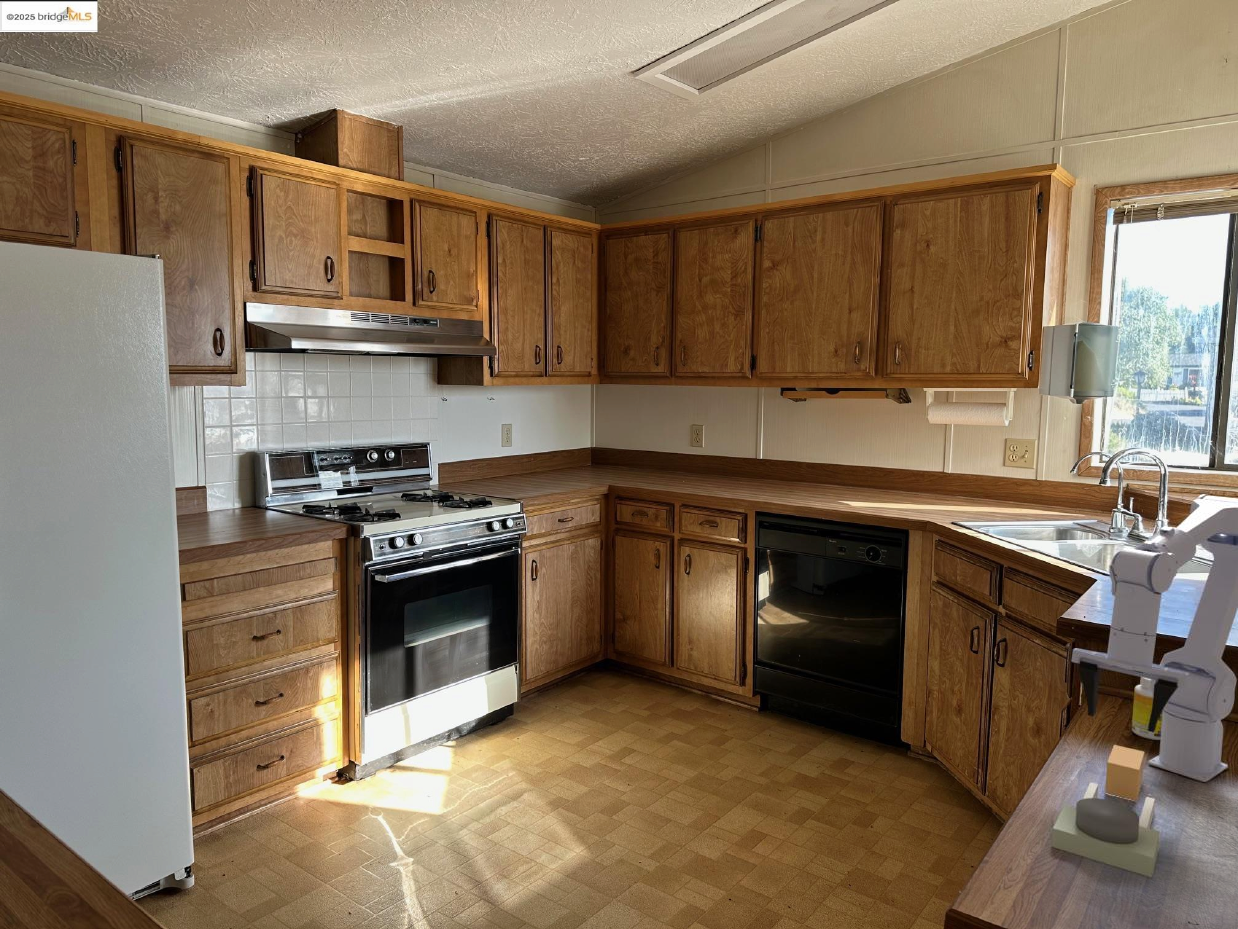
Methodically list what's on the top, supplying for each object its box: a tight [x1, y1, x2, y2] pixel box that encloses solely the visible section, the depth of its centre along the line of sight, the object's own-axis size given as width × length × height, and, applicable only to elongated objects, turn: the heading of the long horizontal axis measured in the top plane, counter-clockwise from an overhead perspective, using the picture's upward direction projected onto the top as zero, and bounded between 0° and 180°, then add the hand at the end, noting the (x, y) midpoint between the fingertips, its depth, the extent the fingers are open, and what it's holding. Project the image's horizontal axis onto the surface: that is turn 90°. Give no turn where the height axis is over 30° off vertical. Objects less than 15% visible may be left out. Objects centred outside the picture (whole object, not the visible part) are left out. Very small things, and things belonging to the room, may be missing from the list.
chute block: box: [1104, 744, 1145, 802], centre depth 125 cm, size 8×4×5 cm, turn 143°
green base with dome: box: [1051, 781, 1161, 878], centre depth 112 cm, size 20×11×5 cm, turn 142°
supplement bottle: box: [1131, 677, 1163, 741], centre depth 145 cm, size 6×6×10 cm
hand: (1120, 722), depth 123 cm, fingers open, 7 cm apart
